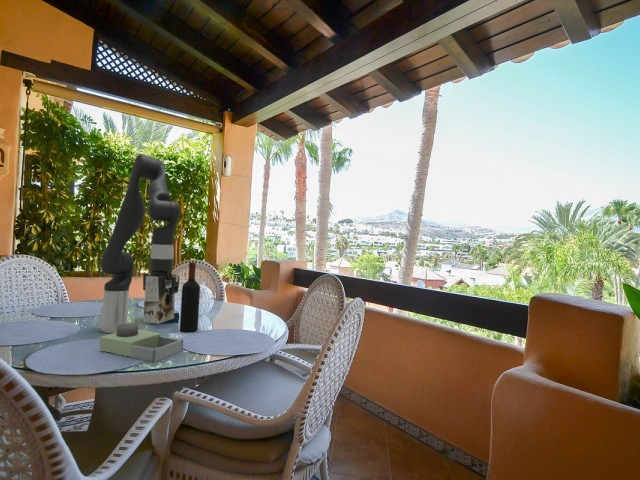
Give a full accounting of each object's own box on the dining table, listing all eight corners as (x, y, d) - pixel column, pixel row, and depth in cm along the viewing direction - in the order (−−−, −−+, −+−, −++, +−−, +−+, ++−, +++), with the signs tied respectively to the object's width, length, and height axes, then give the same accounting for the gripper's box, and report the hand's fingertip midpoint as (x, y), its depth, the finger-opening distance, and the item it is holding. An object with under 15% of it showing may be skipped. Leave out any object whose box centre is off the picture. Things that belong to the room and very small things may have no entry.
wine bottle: (180, 333, 160) (184, 263, 160) (178, 328, 167) (182, 261, 166) (199, 332, 164) (203, 263, 163) (196, 327, 170) (199, 261, 170)
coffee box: (159, 324, 127) (161, 276, 127) (142, 322, 129) (144, 275, 128) (174, 318, 136) (177, 274, 136) (158, 316, 138) (161, 273, 137)
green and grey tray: (99, 351, 132) (100, 328, 132) (131, 341, 145) (132, 320, 145) (154, 362, 124) (155, 338, 124) (182, 350, 137) (183, 329, 137)
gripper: (186, 258, 134) (183, 304, 134) (153, 255, 138) (151, 300, 138) (171, 259, 126) (169, 308, 127) (137, 256, 131) (135, 303, 131)
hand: (159, 304), depth 132 cm, fingers closed on coffee box, 7 cm apart
